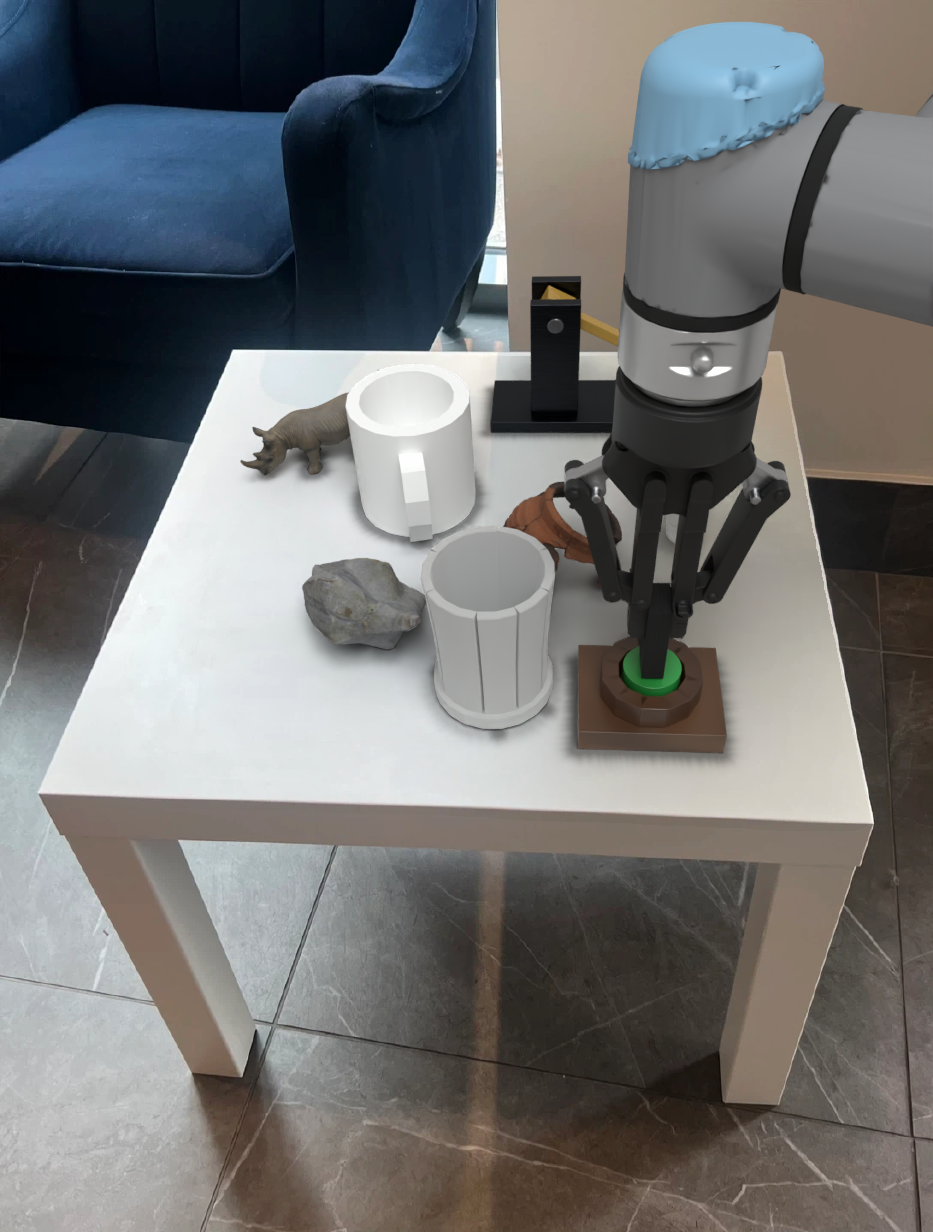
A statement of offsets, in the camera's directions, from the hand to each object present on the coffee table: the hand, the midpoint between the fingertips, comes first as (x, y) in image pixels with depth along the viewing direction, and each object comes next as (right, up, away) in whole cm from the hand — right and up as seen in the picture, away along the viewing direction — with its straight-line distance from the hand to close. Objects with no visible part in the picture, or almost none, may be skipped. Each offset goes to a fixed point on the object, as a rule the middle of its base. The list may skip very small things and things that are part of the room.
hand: (651, 662), depth 69 cm
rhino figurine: (-27, +18, +25) cm, 41 cm away
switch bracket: (-4, +23, +29) cm, 37 cm away
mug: (-17, +13, +20) cm, 29 cm away
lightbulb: (+5, +9, +15) cm, 19 cm away
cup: (-11, -2, +6) cm, 13 cm away
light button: (0, -2, +2) cm, 2 cm away
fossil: (-20, +2, +10) cm, 22 cm away
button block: (0, -3, +3) cm, 5 cm away
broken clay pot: (-6, +6, +13) cm, 16 cm away
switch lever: (-1, +28, +23) cm, 36 cm away
